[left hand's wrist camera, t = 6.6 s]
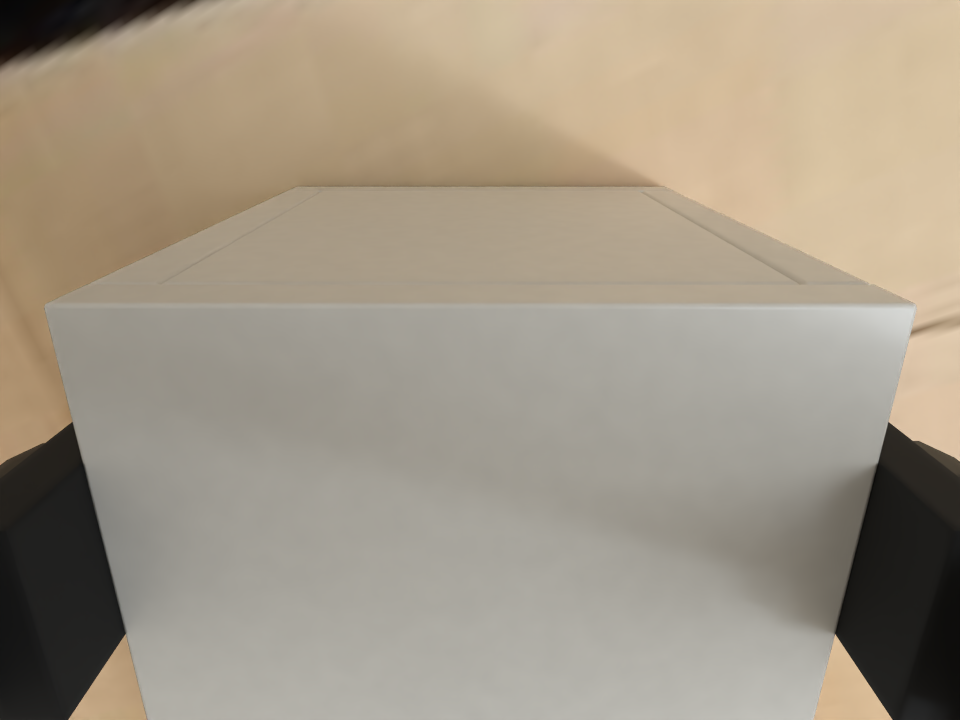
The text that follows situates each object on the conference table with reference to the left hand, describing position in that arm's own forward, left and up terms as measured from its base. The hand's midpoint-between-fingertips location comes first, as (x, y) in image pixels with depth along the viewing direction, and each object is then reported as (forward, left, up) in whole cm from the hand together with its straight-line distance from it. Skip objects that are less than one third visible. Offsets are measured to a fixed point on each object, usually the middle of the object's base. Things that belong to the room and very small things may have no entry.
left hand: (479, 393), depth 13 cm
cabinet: (+6, +2, -6) cm, 8 cm away
